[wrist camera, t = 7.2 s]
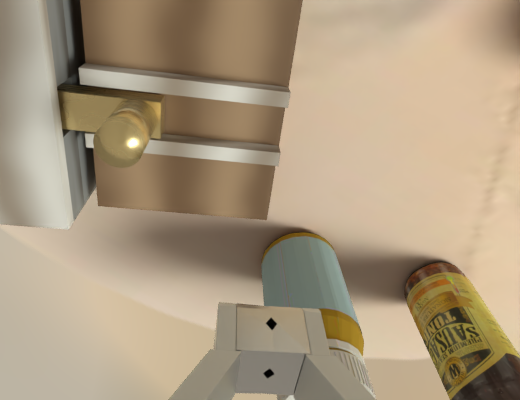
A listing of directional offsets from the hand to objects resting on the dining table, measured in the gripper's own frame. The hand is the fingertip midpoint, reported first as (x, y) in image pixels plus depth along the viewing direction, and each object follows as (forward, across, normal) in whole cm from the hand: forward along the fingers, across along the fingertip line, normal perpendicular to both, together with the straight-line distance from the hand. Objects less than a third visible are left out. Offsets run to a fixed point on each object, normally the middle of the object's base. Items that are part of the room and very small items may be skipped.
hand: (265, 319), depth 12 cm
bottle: (+21, -6, +15) cm, 26 cm away
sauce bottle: (+21, -20, +17) cm, 34 cm away
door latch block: (+21, +8, +1) cm, 23 cm away
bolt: (+18, +10, +1) cm, 21 cm away
